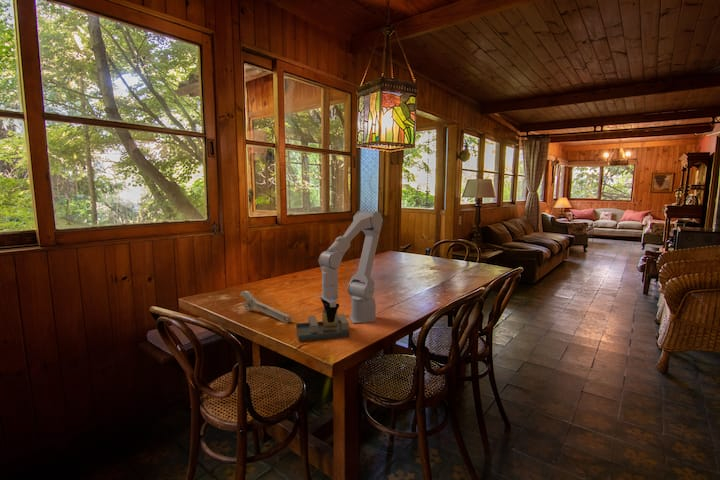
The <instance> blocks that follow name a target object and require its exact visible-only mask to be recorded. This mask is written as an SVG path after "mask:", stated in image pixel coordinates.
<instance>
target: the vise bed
mask: <svg viewBox="0 0 720 480" xmlns="http://www.w3.org/2000/svg"><path fill="white" fill-rule="evenodd" d="M317 323H318V333H316V334H311V332H310V329H309V323H308V322H300V323H296V328H295V329H296V335H297V340H298V343H299V342H310V341H323V340H330V339H331V340H332V339H334V340H335V339H344V338H350V329H349V327H350V326H349V325H350V323H349V321H348V319H347V317H346V315H345V314H344V313H337V327H336V328H323V325H322V321H317Z"/></svg>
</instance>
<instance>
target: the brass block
mask: <svg viewBox="0 0 720 480" xmlns="http://www.w3.org/2000/svg"><path fill="white" fill-rule="evenodd" d="M321 310H322V313H321V314H322V315H321V316H322V317H321V318H322V319H321V320H322V325H323V328H336V327H337V314H338V311H337V312H336V315H335V320H334V322H330V323H328V320H327V314H326V310H325V309H324V308H322V309H321Z"/></svg>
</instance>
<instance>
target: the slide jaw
mask: <svg viewBox="0 0 720 480" xmlns="http://www.w3.org/2000/svg"><path fill="white" fill-rule="evenodd" d="M317 322H318V320H317V317H316V315H310V316H309V315H308V322H307V323H309V329H310V332H311V334H316V333H318V323H317Z"/></svg>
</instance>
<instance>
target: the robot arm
mask: <svg viewBox="0 0 720 480" xmlns="http://www.w3.org/2000/svg"><path fill="white" fill-rule="evenodd" d="M352 220H353V221H352V222H351V224H350V225H349V226H348V227H347V229H346V231H345V232H344V234H343V235H339V236H337V237H336V238H335V240H334V242H333V243H332V244H331V245H330V246H329V247H328V248H327V249H326V250H325V251H322V253H320V255H319V257H318V259H317V261H318V264H319V266H320V271H321V295H318V299H320V301H321V302H322V306H323V309H325V310H326V314H327V320H328V323H330V322H334V320H335V315H336V312H337V313H338V309H339V308H340V303H337V301H338V299H339V294H338V292H339V291H338V290H339V287H338V286H339V285H338V284H339V283H338V282H339V279H338V278H339V274H338V273H339V271H338V270H339V269H338V268H339V267H340V266H341V264H342V260H343V257H344V255H345V254H346V253H347V251H348V250H349V248H350V247H351V242H352V240H353V239H355V237H356V236H357V235H358V234H359V233H360V232H361V231H362V232H363V234H364V235H365V237H364V241H363V246H362V251H361V255H360V259H359V264H358V269H357V271H356V273H355V274H354V275H352V276H351V277H350V281H349V283H348V285H347V293H348V295H349V297H350V299H351V314H350V315H349V316H348V318H349V319H350V320H351V323H352V324H361V323H362V324H363V323H370V322H371V323H375V322H377V320H376V315H377V314H376V313H377V312H376V308H377V307H376V299H375V298H374V297H373V296H374V293H375V283H376V282H375V281H374V279H373V278H372V277H371V274H372V270H373V264H374V261H375V255H376V251H377V247H378V242H379V240H380V239H379V238H380V233H381V231H382V226H383V221H384V219H383V217H382V214H381V212H379V211H368V210H357V212H355V214H354V215H353V219H352Z"/></svg>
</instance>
